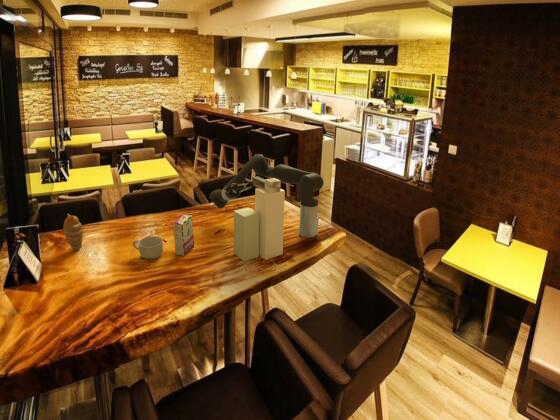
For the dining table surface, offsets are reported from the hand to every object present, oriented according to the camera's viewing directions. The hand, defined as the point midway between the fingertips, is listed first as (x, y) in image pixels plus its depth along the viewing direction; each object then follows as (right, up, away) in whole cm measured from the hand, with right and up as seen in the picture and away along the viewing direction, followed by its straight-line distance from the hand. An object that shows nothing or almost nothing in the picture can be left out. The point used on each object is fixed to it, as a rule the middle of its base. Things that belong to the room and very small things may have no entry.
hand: (244, 184), depth 190 cm
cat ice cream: (-79, -32, -8) cm, 85 cm away
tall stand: (+12, -33, -5) cm, 36 cm away
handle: (+10, -2, -14) cm, 17 cm away
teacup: (-44, -34, -11) cm, 57 cm away
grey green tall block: (+1, -34, -8) cm, 35 cm away
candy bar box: (-28, -32, -5) cm, 43 cm away
